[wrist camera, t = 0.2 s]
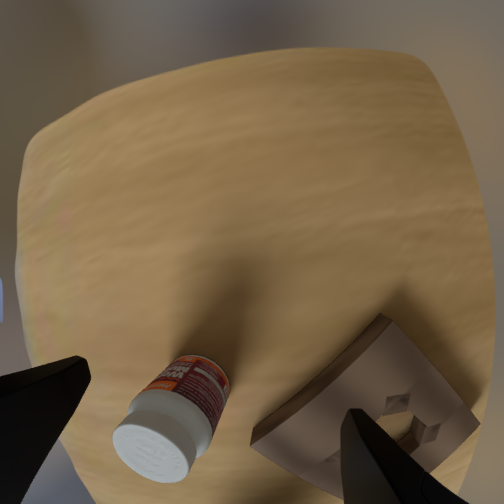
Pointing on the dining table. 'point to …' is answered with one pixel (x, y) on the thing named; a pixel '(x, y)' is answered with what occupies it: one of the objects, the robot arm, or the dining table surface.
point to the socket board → (366, 408)
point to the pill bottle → (173, 419)
